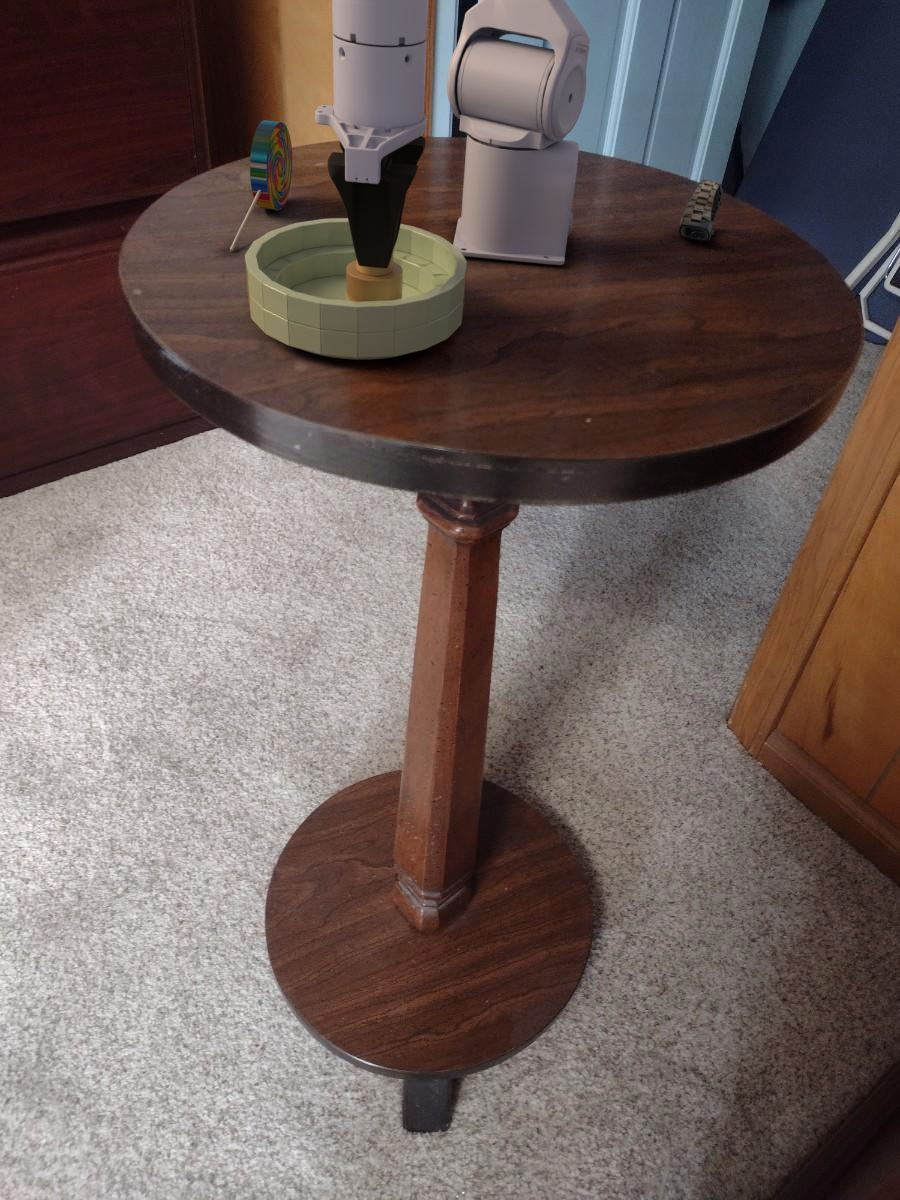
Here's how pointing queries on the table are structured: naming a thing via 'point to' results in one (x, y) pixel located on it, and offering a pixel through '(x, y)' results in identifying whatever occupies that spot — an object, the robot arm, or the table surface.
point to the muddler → (374, 282)
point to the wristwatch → (701, 212)
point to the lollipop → (269, 168)
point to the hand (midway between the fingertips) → (376, 256)
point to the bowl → (318, 292)
